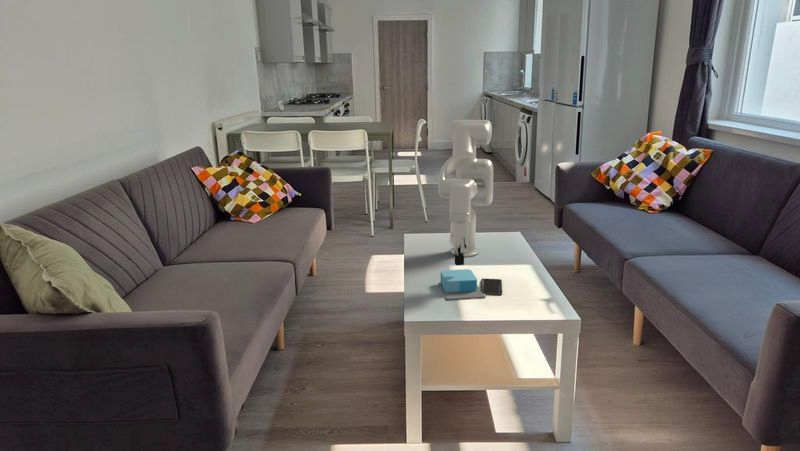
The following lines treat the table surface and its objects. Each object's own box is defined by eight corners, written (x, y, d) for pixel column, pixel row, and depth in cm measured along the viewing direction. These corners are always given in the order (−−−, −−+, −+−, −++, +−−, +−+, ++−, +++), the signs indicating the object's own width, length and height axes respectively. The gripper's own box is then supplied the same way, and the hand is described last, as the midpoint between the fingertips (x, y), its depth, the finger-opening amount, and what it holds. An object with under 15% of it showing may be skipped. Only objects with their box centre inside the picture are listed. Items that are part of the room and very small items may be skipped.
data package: (439, 281, 210) (445, 293, 198) (439, 270, 209) (445, 281, 197) (470, 279, 211) (477, 291, 199) (470, 268, 210) (478, 279, 198)
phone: (480, 292, 198) (481, 278, 212) (480, 295, 198) (481, 281, 212) (502, 293, 196) (502, 279, 211) (502, 296, 197) (501, 281, 211)
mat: (438, 284, 208) (438, 282, 208) (474, 282, 210) (474, 280, 210) (446, 300, 193) (446, 298, 193) (485, 298, 195) (485, 296, 195)
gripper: (445, 212, 205) (445, 258, 209) (454, 222, 190) (453, 271, 195) (465, 211, 205) (464, 257, 210) (475, 221, 191) (474, 270, 196)
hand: (459, 264), depth 202 cm, fingers closed
